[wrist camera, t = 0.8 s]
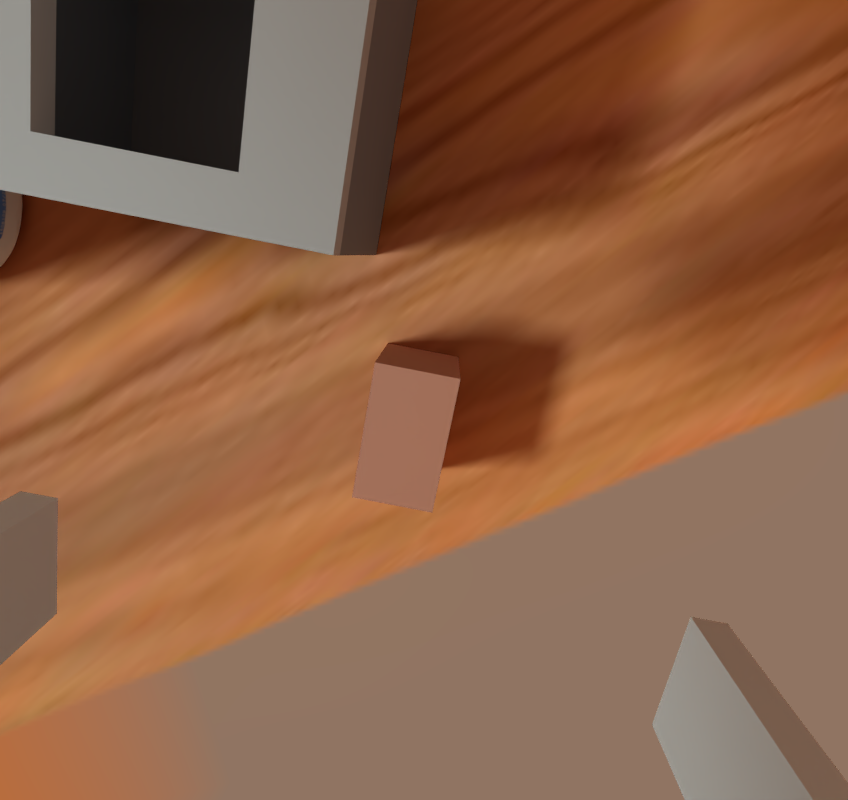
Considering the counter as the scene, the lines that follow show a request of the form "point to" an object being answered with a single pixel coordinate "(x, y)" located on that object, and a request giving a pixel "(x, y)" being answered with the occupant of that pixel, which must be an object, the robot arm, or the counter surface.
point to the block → (407, 427)
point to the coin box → (209, 112)
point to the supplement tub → (9, 222)
